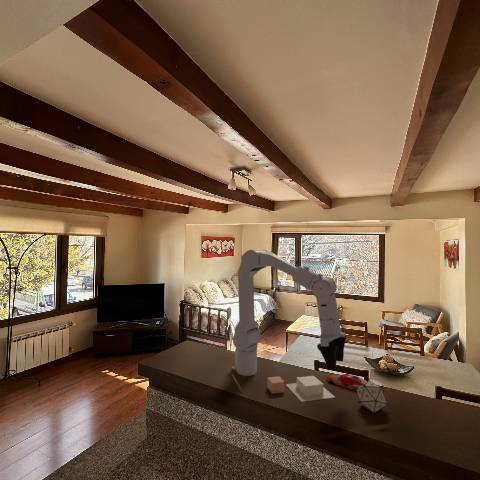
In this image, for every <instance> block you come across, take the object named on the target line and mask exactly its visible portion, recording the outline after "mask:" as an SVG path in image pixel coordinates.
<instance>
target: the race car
mask: <svg viewBox="0 0 480 480" xmlns="http://www.w3.org/2000/svg"><path fill="white" fill-rule="evenodd" d="M325 380H326V382H327V383H329V384H332V385H335V386H340V387H343V388H346V389H351V390H354V391H356V390H355V389H354V387H355V388H358V387H360V386H361V385H363V384H364V383H366V382H367V381H368V380H365V379H363V378H361V377H360V376H357V375H354V374H350V373H343V374H336V373H335V374H332V373H331V374H329V375H327V376H326V379H325Z"/></svg>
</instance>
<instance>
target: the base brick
mask: <svg viewBox="0 0 480 480" xmlns="http://www.w3.org/2000/svg"><path fill="white" fill-rule="evenodd" d="M295 378H296V379H295V380H296V382H295V383H296V387H297V388H298V389H299V390H300V391H301V392H302V393H303V394H304V396H312V395H320V394H323V387H324V382H321V381H320V379H318V378H317V377H316V376H315V375H308V376H298V377H295Z"/></svg>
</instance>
